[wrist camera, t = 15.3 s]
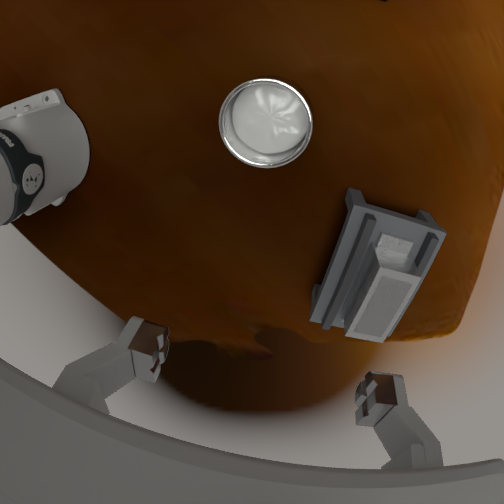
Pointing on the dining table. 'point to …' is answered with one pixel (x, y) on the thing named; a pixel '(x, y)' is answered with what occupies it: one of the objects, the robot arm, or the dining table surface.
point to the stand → (357, 245)
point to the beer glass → (266, 121)
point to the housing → (381, 288)
